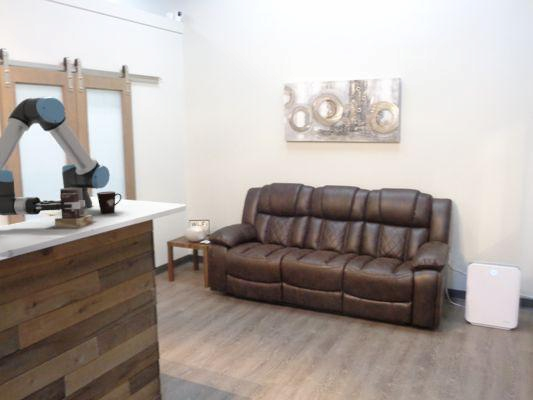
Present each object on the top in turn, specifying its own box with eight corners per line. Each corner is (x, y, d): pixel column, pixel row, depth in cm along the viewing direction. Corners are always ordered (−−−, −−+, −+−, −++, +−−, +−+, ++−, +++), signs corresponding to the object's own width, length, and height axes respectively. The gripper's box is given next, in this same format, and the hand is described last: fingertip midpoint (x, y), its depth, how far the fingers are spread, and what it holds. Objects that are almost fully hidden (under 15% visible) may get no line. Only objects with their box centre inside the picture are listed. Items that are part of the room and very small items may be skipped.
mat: (67, 222, 225) (67, 221, 225) (97, 222, 222) (97, 221, 222) (44, 229, 209) (44, 228, 209) (76, 230, 206) (76, 229, 206)
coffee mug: (99, 215, 240) (97, 194, 239) (98, 212, 248) (96, 192, 247) (124, 212, 245) (122, 192, 243) (122, 210, 252) (120, 190, 251)
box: (62, 222, 213) (59, 194, 212) (67, 220, 218) (64, 193, 216) (75, 222, 213) (73, 193, 211) (80, 220, 217) (78, 192, 216)
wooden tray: (69, 222, 221) (68, 214, 221) (93, 222, 219) (92, 214, 218) (55, 227, 212) (54, 219, 211) (80, 227, 209) (79, 219, 209)
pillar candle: (61, 220, 230) (58, 187, 228) (63, 216, 240) (61, 185, 237) (83, 218, 233) (81, 186, 231) (85, 215, 242) (82, 184, 240)
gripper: (39, 211, 224) (90, 209, 223) (19, 218, 207) (74, 216, 206) (37, 194, 223) (89, 193, 222) (17, 200, 206) (73, 198, 205)
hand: (82, 204), depth 214 cm, fingers closed on box, 4 cm apart
